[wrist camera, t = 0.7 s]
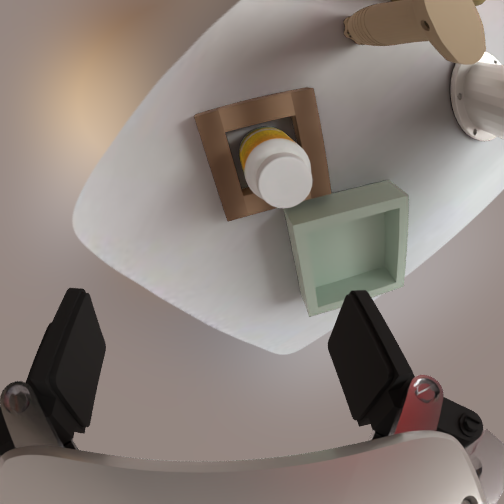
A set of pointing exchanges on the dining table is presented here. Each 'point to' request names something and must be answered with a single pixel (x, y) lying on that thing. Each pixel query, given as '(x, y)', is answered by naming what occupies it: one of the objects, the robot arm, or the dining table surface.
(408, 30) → the handle
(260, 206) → the holder
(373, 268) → the bin
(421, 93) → the dining table surface
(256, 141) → the supplement bottle
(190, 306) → the dining table surface
